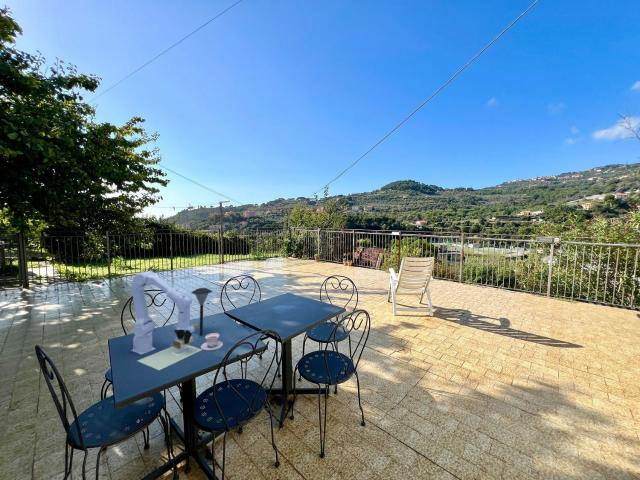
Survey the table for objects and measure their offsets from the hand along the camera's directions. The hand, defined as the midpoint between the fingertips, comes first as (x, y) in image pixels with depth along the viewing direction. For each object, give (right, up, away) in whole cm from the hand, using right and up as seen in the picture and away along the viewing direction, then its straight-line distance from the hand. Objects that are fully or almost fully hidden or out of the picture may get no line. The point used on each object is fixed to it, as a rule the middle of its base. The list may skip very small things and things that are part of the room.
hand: (183, 342), depth 147 cm
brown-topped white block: (0, -1, 0) cm, 1 cm away
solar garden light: (0, -4, +23) cm, 23 cm away
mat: (-4, -5, -5) cm, 8 cm away
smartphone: (-13, -4, +35) cm, 38 cm away
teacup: (+12, -6, +8) cm, 16 cm away
